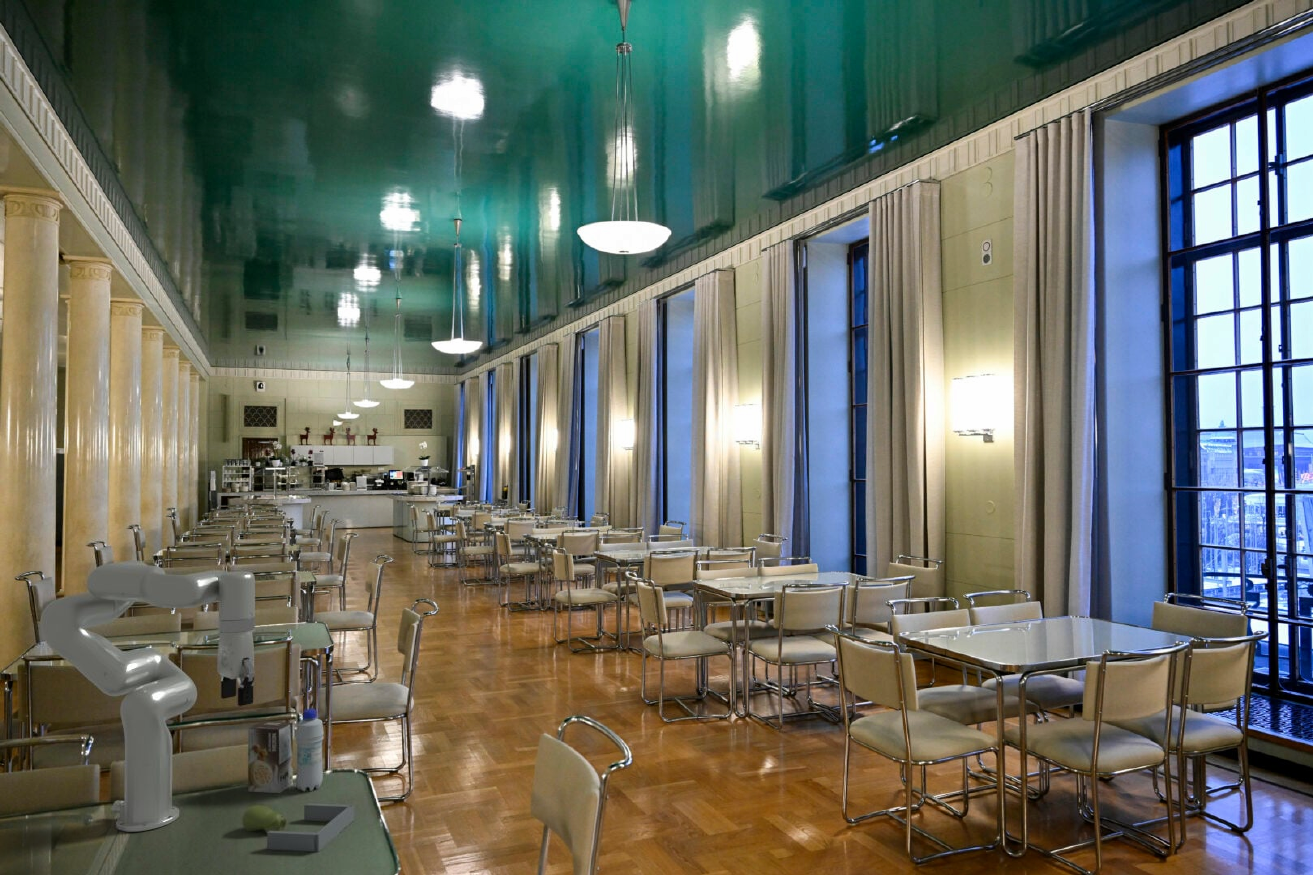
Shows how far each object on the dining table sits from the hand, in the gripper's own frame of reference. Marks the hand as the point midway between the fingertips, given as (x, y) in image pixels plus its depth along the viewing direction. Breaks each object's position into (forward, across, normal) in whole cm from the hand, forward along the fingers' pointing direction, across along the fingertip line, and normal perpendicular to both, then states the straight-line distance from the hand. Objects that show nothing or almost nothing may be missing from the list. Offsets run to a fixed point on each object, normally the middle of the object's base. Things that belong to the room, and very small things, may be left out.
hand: (237, 700), depth 195 cm
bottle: (+29, -11, +22) cm, 38 cm away
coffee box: (+29, -18, +15) cm, 37 cm away
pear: (+29, +6, +4) cm, 30 cm away
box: (+29, +17, +10) cm, 35 cm away
